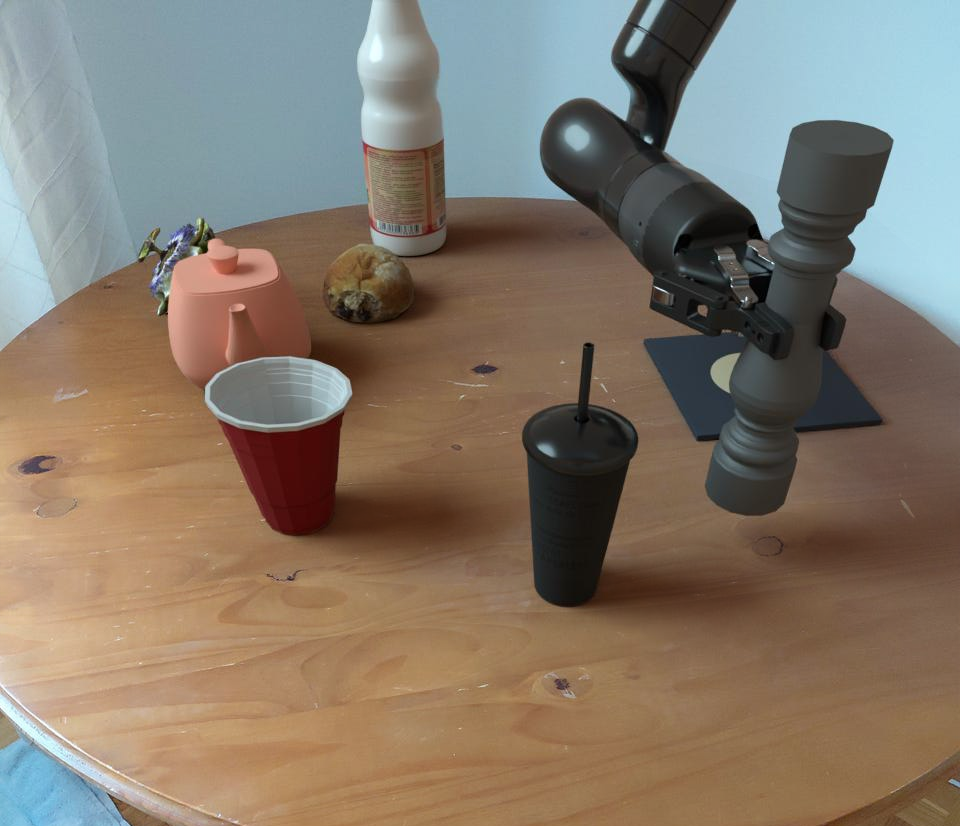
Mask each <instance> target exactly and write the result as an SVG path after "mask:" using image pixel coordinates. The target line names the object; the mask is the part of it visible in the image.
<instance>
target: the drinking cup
mask: <svg viewBox="0 0 960 826" xmlns="http://www.w3.org/2000/svg"><path fill="white" fill-rule="evenodd" d="M594 355H595V344H594V343H593V342H589V341H587V342H585V343H583V344H582V355H581V365H580V377H579V378H580V379H579V387H578V388H579V389H578V390H579V391H578V398H577V399H578V400H577V402H571V403H560V404H556V405H552V406H549V407H545V408H542V409H541V410H539V411H537V412H536V413H534V414H533V415H532V416H531V417H530V418H528V420H526V422H525V424H524V426H523V428H522V433H521V442H522V446H523V448H524V450H525V452H526V461H527V462H526V465H527V483H528V498H529V499H528V500H529V501H528V502H529V516H530V517H529V518H530V533H531V552H532V568H533V586H534V588H535V591H536V593H537V595H539V597H540V598H542V599H543V601H546V602H548V603H549V604H552V605H555V606H559V607H576V606H580V605H583V604H586V603H587V602H589V601H590V600H591V599H592V598H593V597H594V596H595V594H596V592H597V589H598V585H599V581H600V578H601V574H602V570H603V566H604V562H605V558H606V556H607V555H606V554H607V551H608V547H609V543H610V540H611V536H612V532H613V528H614V524H615V521H616V516H617V513H618V508H619V505H620V500H621V497H622V494H623V490H624V485H625V482H626V477H627V474H628V470H629V467H630V462H631V460H632V459H633V457H634V456H635V455H636V454H637V451H638V447H639V435H638V431H637V429H636V427H635V426H634V425H633V423H632V422H631V421H630V420H629V419H628V417H627V418H626V417H625V416H624V415H623V414H621V413H619V412H617V411H615V410H613V409H610V408H607V407H605V406H601V405H596V404H592V403H590V393H591V386H592V385H591V384H592V375H593V374H592V373H593V365H594V364H593V363H594Z"/></svg>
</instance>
